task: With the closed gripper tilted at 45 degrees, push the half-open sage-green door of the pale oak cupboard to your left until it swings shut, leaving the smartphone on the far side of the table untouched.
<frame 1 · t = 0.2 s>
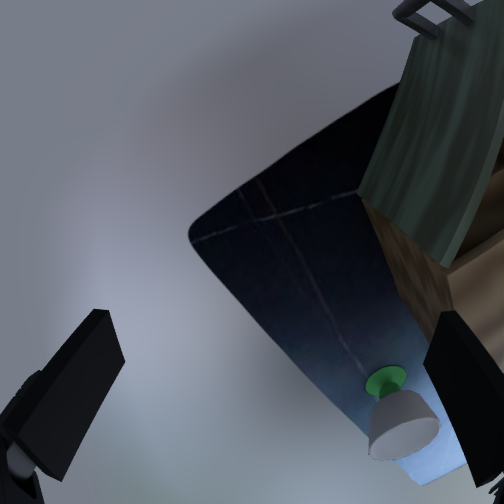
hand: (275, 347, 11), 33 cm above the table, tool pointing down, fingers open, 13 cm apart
cupboard: (450, 214, 40), on the table
cupboard door: (411, 92, 24), point 12 cm above the table, hinge at 40.0°
cup: (385, 380, 53), on the table
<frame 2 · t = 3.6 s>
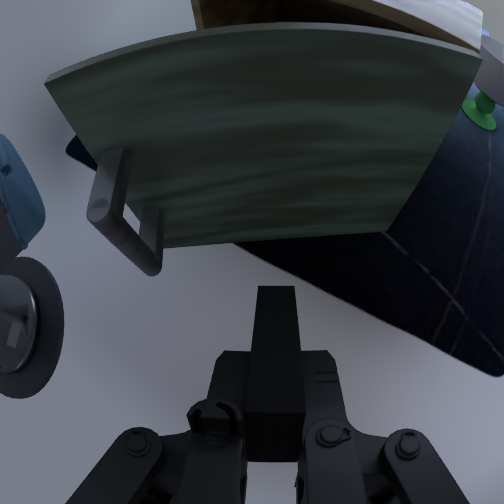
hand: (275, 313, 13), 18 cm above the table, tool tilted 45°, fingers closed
cupboard: (329, 131, 40), on the table
cupboard door: (279, 198, 22), point 12 cm above the table, hinge at 40.0°
cup: (478, 115, 42), on the table
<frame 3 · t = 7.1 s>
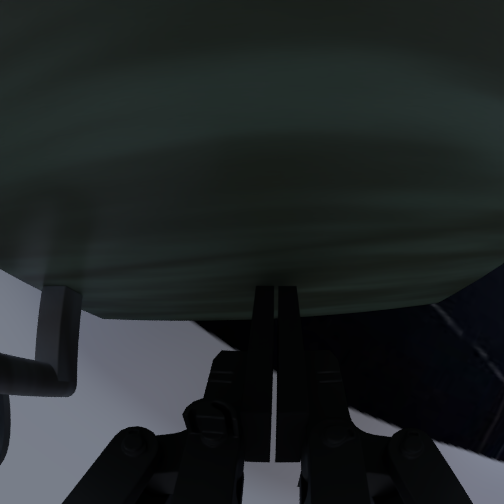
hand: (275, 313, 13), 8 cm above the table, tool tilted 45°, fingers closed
cupboard door: (271, 326, 9), point 12 cm above the table, hinge at 37.8°, touching gripper
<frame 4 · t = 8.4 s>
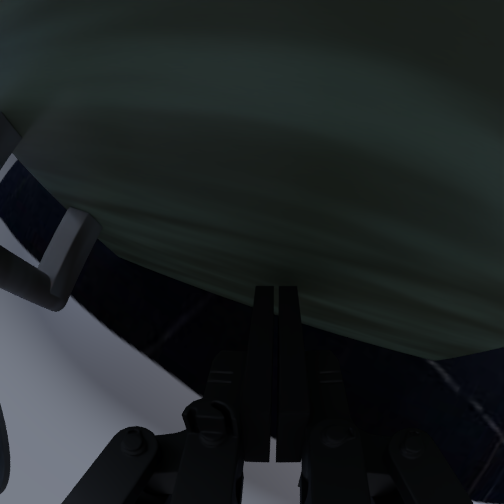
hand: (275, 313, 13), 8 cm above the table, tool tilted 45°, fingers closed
cupboard door: (241, 310, 9), point 12 cm above the table, hinge at 16.2°, touching gripper
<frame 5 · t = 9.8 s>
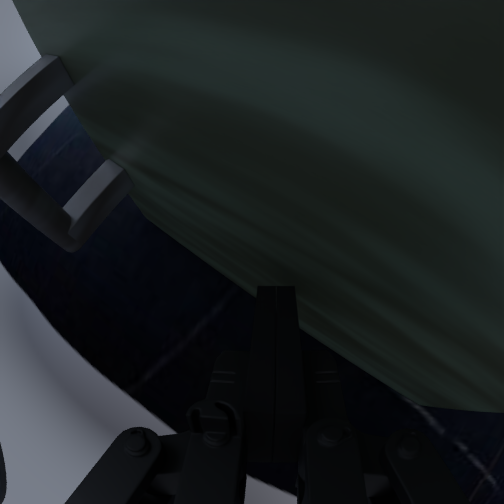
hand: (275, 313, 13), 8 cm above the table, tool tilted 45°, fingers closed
cupboard door: (230, 295, 9), point 12 cm above the table, hinge at -0.1°, touching gripper
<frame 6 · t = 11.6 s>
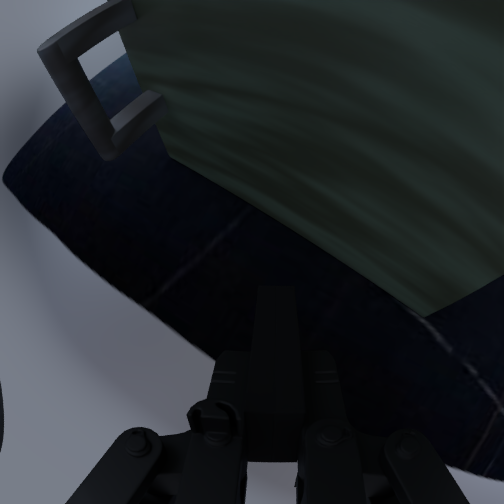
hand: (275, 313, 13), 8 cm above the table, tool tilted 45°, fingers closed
cupboard door: (257, 132, 12), point 12 cm above the table, hinge at -0.1°
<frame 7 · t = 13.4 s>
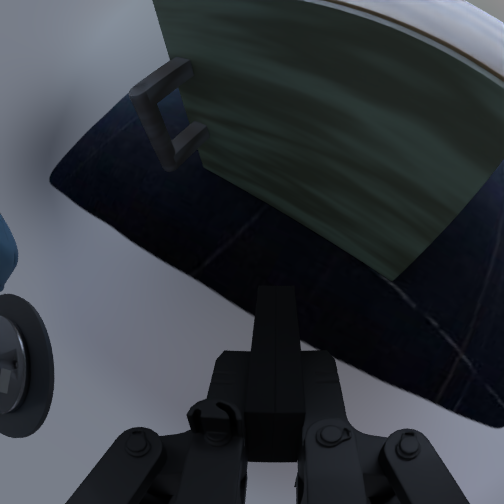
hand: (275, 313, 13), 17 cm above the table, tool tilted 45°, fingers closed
cupboard: (334, 162, 37), on the table
cupboard door: (278, 161, 22), point 12 cm above the table, hinge at -0.1°
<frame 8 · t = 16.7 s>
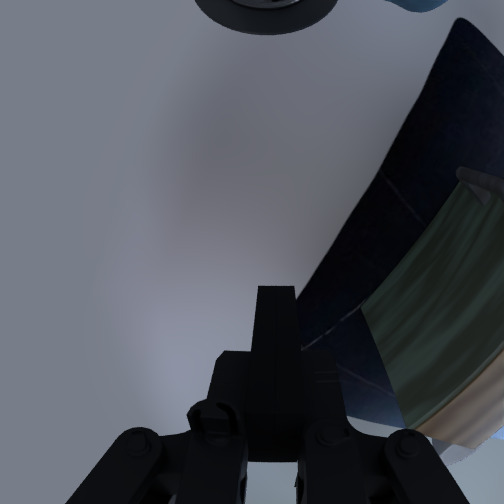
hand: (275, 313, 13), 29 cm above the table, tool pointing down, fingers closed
cupboard: (448, 276, 43), on the table
cupboard door: (441, 269, 30), point 12 cm above the table, hinge at -0.1°
cup: (441, 399, 55), on the table
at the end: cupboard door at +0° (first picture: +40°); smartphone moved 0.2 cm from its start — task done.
